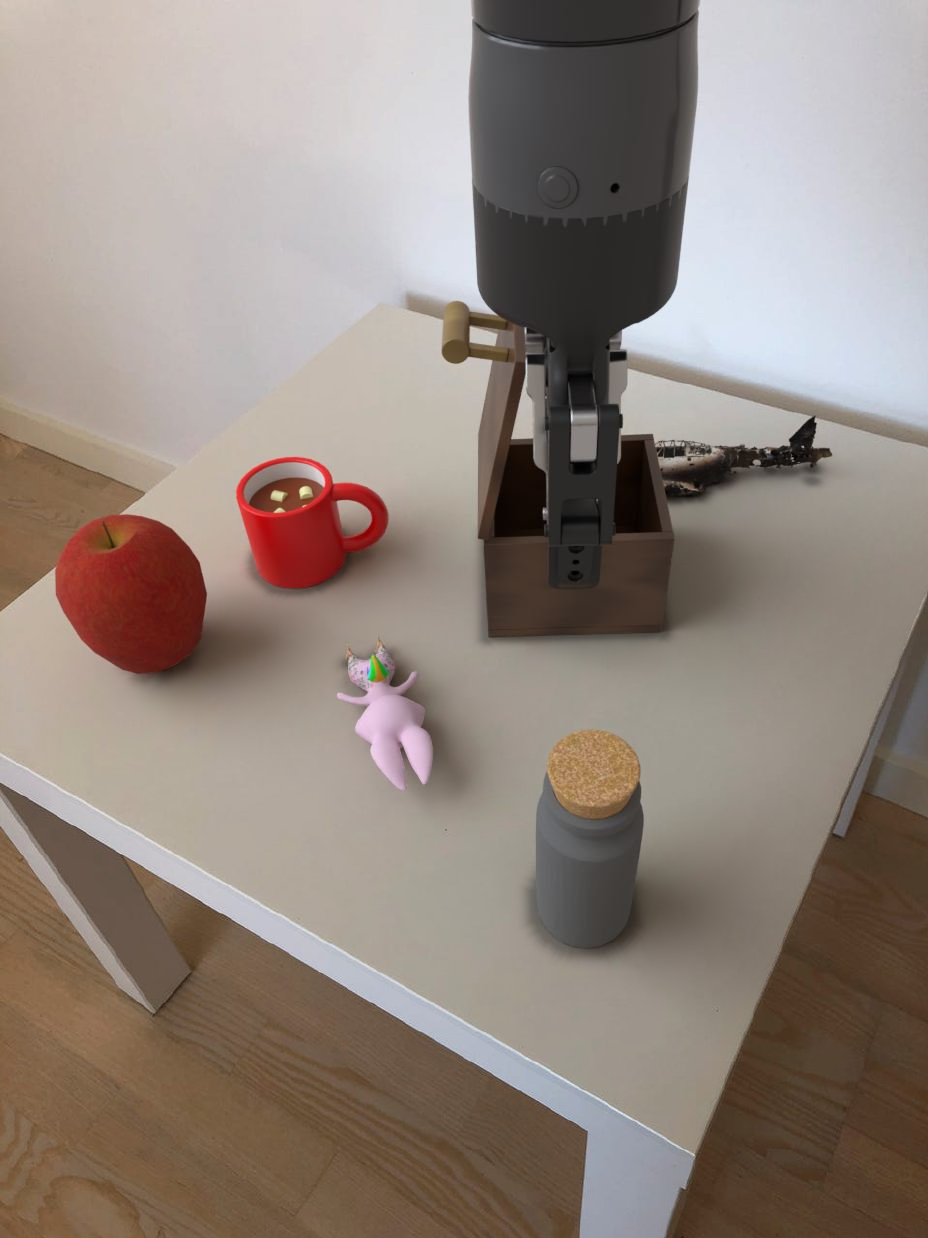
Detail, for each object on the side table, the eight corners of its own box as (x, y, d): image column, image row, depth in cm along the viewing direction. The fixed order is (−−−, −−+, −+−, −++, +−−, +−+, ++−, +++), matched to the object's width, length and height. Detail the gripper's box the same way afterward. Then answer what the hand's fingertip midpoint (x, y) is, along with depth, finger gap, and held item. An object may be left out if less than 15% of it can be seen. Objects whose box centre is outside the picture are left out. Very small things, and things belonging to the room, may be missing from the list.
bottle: (606, 850, 61) (621, 707, 50) (646, 931, 57) (672, 795, 46) (522, 878, 60) (518, 738, 49) (557, 963, 56) (562, 831, 45)
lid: (522, 264, 65) (449, 253, 65) (528, 362, 57) (444, 351, 56) (487, 435, 76) (424, 427, 75) (488, 540, 67) (417, 532, 67)
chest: (642, 526, 83) (653, 433, 76) (661, 632, 74) (675, 538, 67) (487, 531, 83) (483, 439, 76) (488, 637, 75) (483, 544, 68)
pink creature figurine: (330, 681, 74) (373, 818, 62) (315, 621, 71) (357, 755, 59) (407, 659, 75) (463, 790, 64) (395, 599, 72) (453, 727, 60)
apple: (246, 620, 77) (203, 486, 67) (186, 714, 71) (128, 582, 61) (137, 597, 80) (79, 465, 70) (69, 686, 73) (-5, 555, 63)
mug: (395, 578, 80) (384, 505, 74) (253, 592, 80) (231, 521, 74) (391, 518, 85) (381, 446, 80) (258, 531, 85) (239, 460, 79)
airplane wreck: (839, 485, 85) (854, 434, 81) (634, 503, 85) (639, 453, 81) (818, 447, 89) (831, 396, 85) (622, 464, 89) (626, 414, 85)
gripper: (721, 252, 28) (667, 630, 39) (665, 86, 37) (635, 428, 49) (464, 263, 28) (486, 632, 40) (476, 96, 38) (491, 432, 50)
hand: (569, 519), depth 44 cm, fingers open, 8 cm apart
